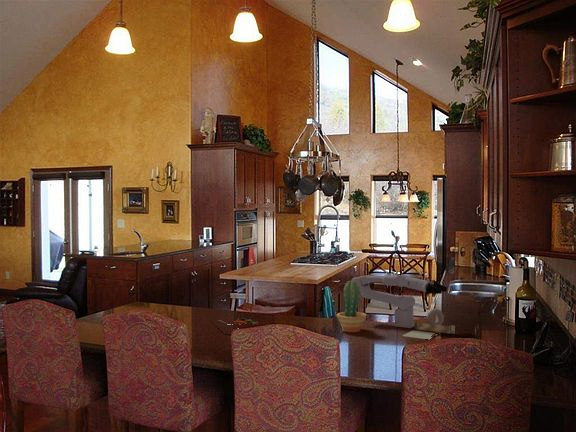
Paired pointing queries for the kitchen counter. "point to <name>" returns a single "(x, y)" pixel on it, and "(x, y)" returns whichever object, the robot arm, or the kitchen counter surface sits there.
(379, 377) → the kitchen counter surface
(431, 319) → the donut
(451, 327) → the gate post
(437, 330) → the gate
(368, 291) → the robot arm
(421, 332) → the mat
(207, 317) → the kitchen counter surface
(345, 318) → the potted cactus
